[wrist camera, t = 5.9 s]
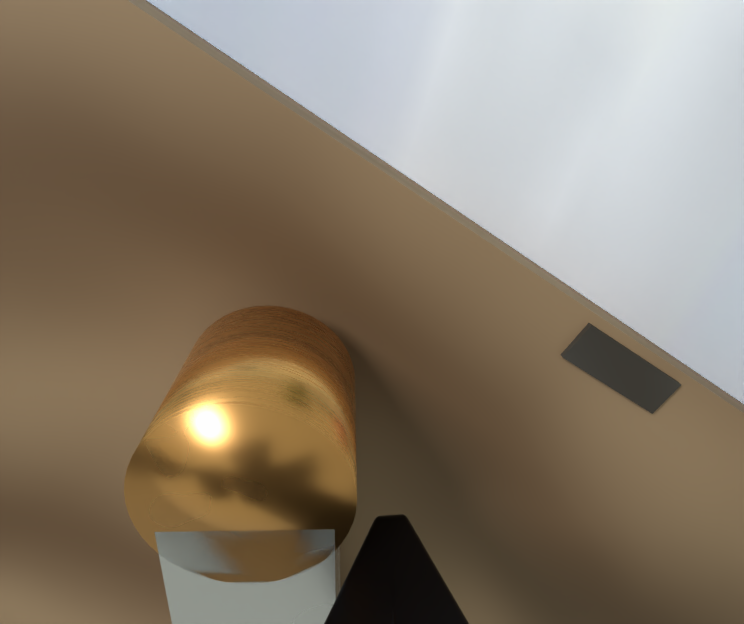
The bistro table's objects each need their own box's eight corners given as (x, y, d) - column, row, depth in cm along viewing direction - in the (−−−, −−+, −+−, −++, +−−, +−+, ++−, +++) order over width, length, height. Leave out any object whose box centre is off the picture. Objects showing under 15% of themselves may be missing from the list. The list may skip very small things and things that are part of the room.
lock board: (362, 860, 21) (364, 920, 19) (-296, 672, 15) (-365, 737, 14) (837, 468, 14) (896, 516, 12) (-64, -142, 8) (-155, -188, 7)
